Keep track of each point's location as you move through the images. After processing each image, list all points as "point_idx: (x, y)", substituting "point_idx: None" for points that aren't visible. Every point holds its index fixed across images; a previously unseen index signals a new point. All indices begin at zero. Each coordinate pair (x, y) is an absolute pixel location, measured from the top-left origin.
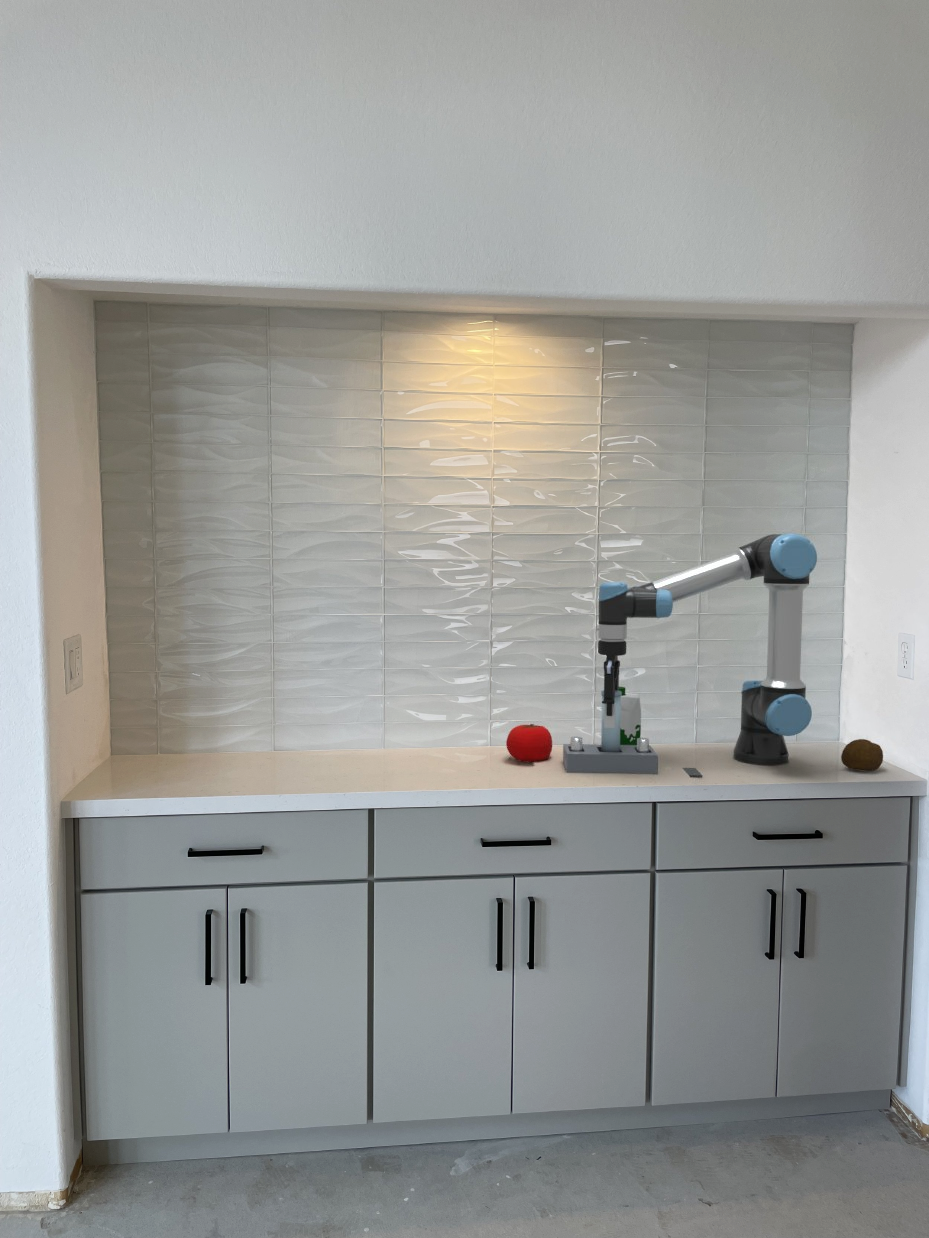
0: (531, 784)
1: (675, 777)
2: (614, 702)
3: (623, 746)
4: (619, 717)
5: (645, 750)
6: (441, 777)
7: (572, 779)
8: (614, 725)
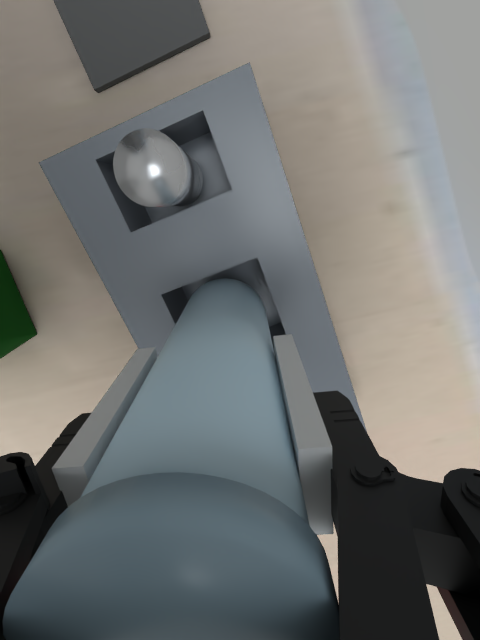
0: (465, 450)
1: (208, 19)
2: (376, 461)
3: (137, 280)
4: (227, 341)
5: (186, 154)
6: (448, 613)
7: (377, 372)
8: (292, 341)
